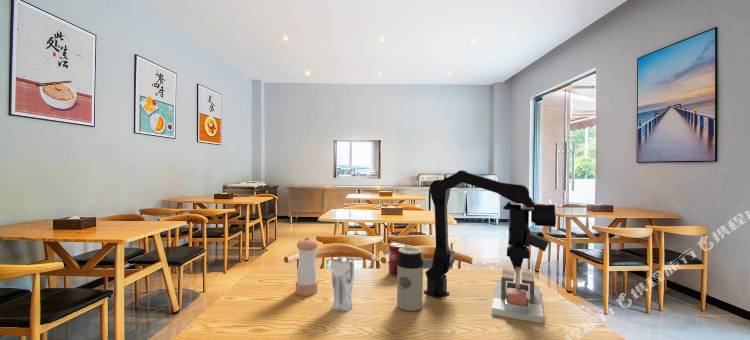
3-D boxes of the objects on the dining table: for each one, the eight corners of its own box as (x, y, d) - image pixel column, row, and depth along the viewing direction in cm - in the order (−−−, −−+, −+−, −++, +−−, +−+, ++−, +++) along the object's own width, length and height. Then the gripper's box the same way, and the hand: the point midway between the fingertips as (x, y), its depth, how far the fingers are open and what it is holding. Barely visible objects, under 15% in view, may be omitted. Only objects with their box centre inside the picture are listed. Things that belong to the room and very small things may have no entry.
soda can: (406, 271, 143) (406, 243, 142) (406, 277, 135) (406, 247, 135) (389, 270, 143) (389, 242, 143) (388, 276, 136) (388, 246, 136)
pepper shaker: (291, 294, 116) (292, 238, 116) (303, 287, 123) (304, 234, 123) (309, 297, 114) (310, 240, 113) (321, 290, 120) (321, 236, 120)
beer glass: (357, 304, 108) (357, 257, 108) (348, 313, 102) (348, 263, 101) (337, 301, 110) (337, 255, 110) (327, 310, 104) (327, 261, 104)
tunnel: (533, 304, 105) (534, 281, 105) (501, 298, 109) (501, 277, 109) (532, 293, 115) (533, 272, 115) (502, 288, 118) (502, 268, 118)
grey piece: (529, 314, 98) (530, 275, 98) (504, 310, 100) (505, 271, 100) (528, 304, 105) (529, 267, 105) (505, 300, 108) (506, 264, 107)
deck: (543, 323, 97) (543, 316, 97) (491, 314, 102) (491, 307, 102) (538, 291, 122) (538, 286, 122) (497, 285, 127) (497, 280, 127)
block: (526, 312, 99) (526, 295, 99) (507, 309, 101) (508, 293, 101) (525, 306, 104) (526, 290, 104) (508, 303, 106) (508, 287, 106)
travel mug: (407, 299, 113) (408, 245, 113) (427, 306, 107) (428, 249, 107) (391, 306, 107) (392, 249, 107) (411, 314, 102) (412, 254, 102)
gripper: (549, 232, 96) (548, 287, 96) (545, 221, 113) (544, 268, 113) (507, 228, 100) (506, 281, 100) (509, 219, 117) (508, 264, 117)
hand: (517, 273), depth 108 cm, fingers closed
